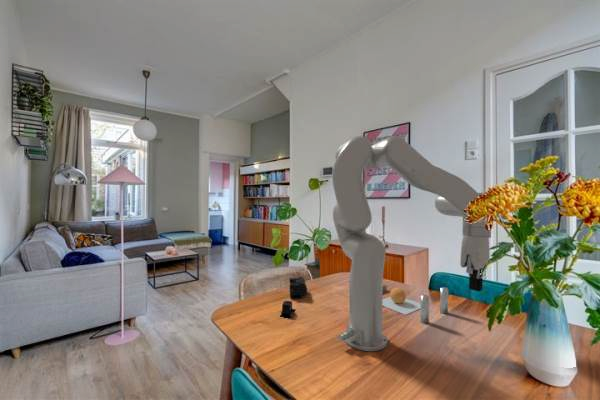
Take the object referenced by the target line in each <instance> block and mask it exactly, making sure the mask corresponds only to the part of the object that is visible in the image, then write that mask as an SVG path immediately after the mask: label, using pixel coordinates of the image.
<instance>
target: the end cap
mask: <svg viewBox="0 0 600 400" xmlns="http://www.w3.org/2000/svg"><path fill="white" fill-rule="evenodd" d="M306 294H308V287H307V284H306V280H305V279H304V277H303V276H298V278H297V277H296V278H295V277H294V278H293V277H292V278H289V299H291V300H294V299H295V300H297V299H298V300H300V299H302V298H304V297H305V296H306Z"/></svg>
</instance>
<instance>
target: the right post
mask: <svg viewBox="0 0 600 400" xmlns="http://www.w3.org/2000/svg"><path fill="white" fill-rule="evenodd" d="M439 289H440V290H439V291H440V293H439V294H440V295H439V296H440V297H439V302H440V303H439V312H441V313H440V314H442V313H443V314H442V315H448V314H449V288H448V287H445V286H442V287H440V288H439Z"/></svg>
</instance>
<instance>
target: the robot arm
mask: <svg viewBox="0 0 600 400" xmlns="http://www.w3.org/2000/svg"><path fill="white" fill-rule="evenodd" d="M385 167H389V168H390V169H391V170H392V171H393V172H395V173H396V174H397V175H398V176H400V177H401V178H402V179H403V180H404V181H405V182H407V183H408V185H410V186H411V187H414V188H416V189H419V190H422V191H424V192H429V193H431V194H433V195H434V194H435V195H436V196H437V197H436V198H435V201H434V206H435V209H436V211H437V212H439V213H440V214H441V215H443V216H450V217H462V240H461V248H460V261H459V263H460V264H459V265H460V267H461V268H465V269H466V270H465V271H466V274H468V278H469V279H468V281H469V282H468V288H469V290H472V291H476V292H482V291H483V287H484V286H483V285H484V284H483V277H484V272H483V273H482V274H481V275H480V273H481V270H482V268H483V266H484V264H485V263H486V262H487V261H488V260H489V261H490V240H489V239H491V238H492V229H491V230H490V231H488V232H487V231H486V229H485V221H482V222H476V223H472V224H469V223H466V222H464V219H465V218H466V217H467V214H466V213H464V212H463V210H464V209H466V208H467V205H468V203H469V202H471V201H472V200H473V199H474V198H477V197H478V196H479V195H480V194H484V193H485V192H477V190H475V189H474V188H473V187H472V185H470V184H468V182H466V181H465V180H464V179H463V178H460V177H459V176H457V175H455V174H453V173H451V172H449V171H448V170H447V171H446V170H445V169H443V168H440V167H438V166H436V165H434V164H432V163H431V162H430V161H429V160H427V158H426V157H424V156H423V155H422V154H421V153H420V152H418V151H417V150H416V149H415V148H414V147H413V146H412V145H410V144H409V142H407V141H406V140H404V139H403V138H402V137H400V136H396V135H392V136H389V137H386V138H383V139H381V140H380V141H376V142H372V141H371V140H370V139H369V138H368V137H366V136H360V135H359V136H355V137H352V138H350V139H349V140H348V141H346V142H344V143H343V144H341V145H340V146H339V147H338V148H337V149H336V152H335V162H334V165H333V168H332V177H331V178H332V186H333V191H334V195H335V198H336V199H335V200H336V204H335V205H334V207H333V210H332V219H333V224H334V228H335V231H336V234H337V238H338V241H339V243H340V247H341V249H342V252H343V253H344V254H345V257H348V258H349V259H350V260H351V266H350V271H349V321H348V322H349V324H348V325H346V330H345V331H344V332H342V333H339V334H338V335H337V339H338V341H339V342H344V341H345V343H346V344H348V345H349V346H350V347H352V348H354V349H357V350H358V351H359V350H360V351H365V352H376V351H378V352H379V351H381V350H383V349H384V348H386V347H387V346H388V337H387V335H386V334H385V333H384V332H383V306H382V299H383V292H382V284H383V277H384V276H383V275H384V268H385V267H384V266H385V263H386V249H385V246H384V244H383V242H382V241H381V240H380V239H379V238H378V237H377V236H374V235H373V234H369V233H367V231H366V229H368V228H369V227H370V225H371V223H372V211H371V208H370V206H369V202H368V198H367V194H366V192H365V188H364V183H363V173H364V170H367V169H368V170H369V169H378V168H379V169H380V168H385ZM466 202H467V203H466Z"/></svg>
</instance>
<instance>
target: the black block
mask: <svg viewBox="0 0 600 400" xmlns="http://www.w3.org/2000/svg"><path fill="white" fill-rule="evenodd" d="M281 307H282V308H281V311H280V313H281V315H280V314H279V315H280V317H284V318H283V319H285V318H288V319H289V320H292V319H293V316H294V314H295V312H296V309H295V308H294V309H293V301H292V300H289V301H288V300H284V301H283V302H282V305H281Z"/></svg>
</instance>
